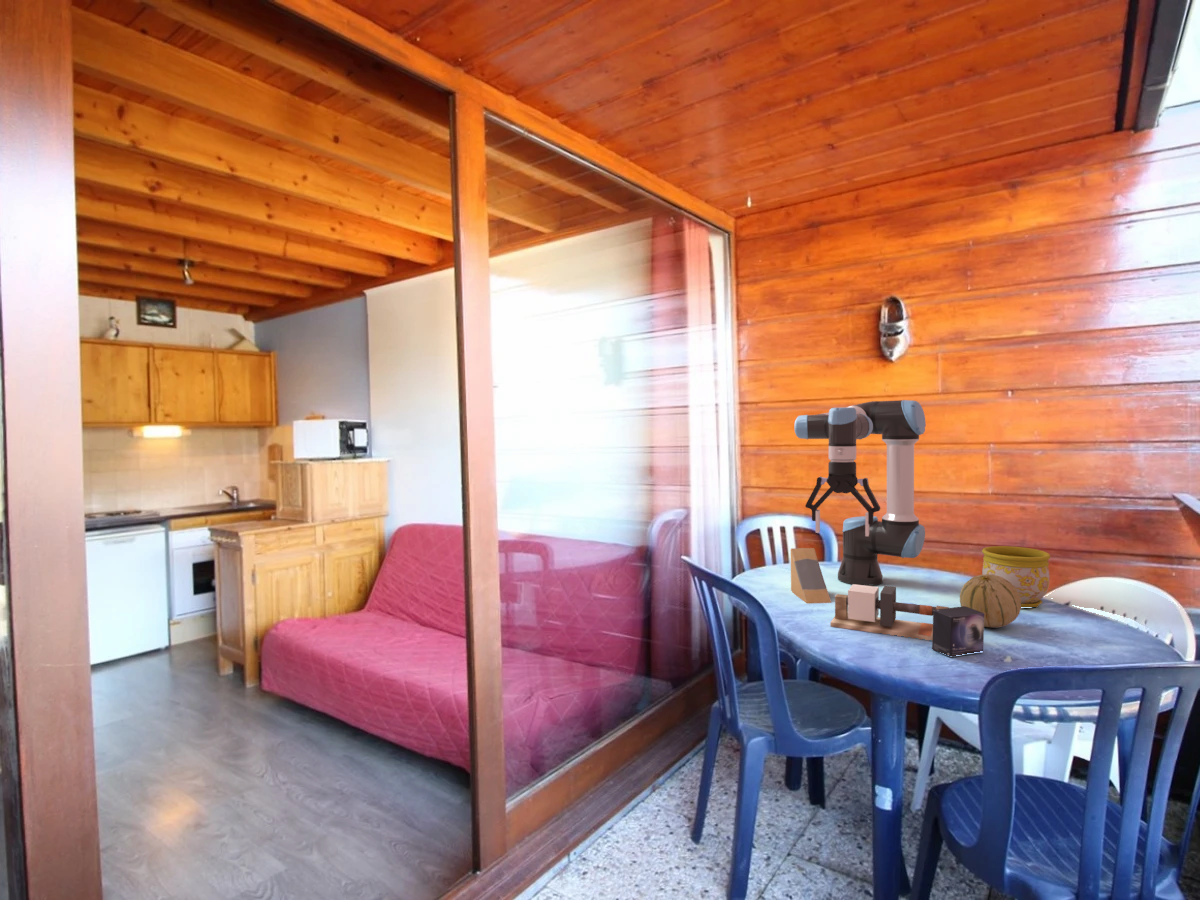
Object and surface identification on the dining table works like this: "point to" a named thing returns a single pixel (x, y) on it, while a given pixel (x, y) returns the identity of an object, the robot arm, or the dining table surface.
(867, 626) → the rail
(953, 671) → the dining table surface
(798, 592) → the sandwich container
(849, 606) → the sleeve
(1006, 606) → the cantaloupe
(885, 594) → the ring
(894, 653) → the dining table surface
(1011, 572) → the flowerpot
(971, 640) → the small box
